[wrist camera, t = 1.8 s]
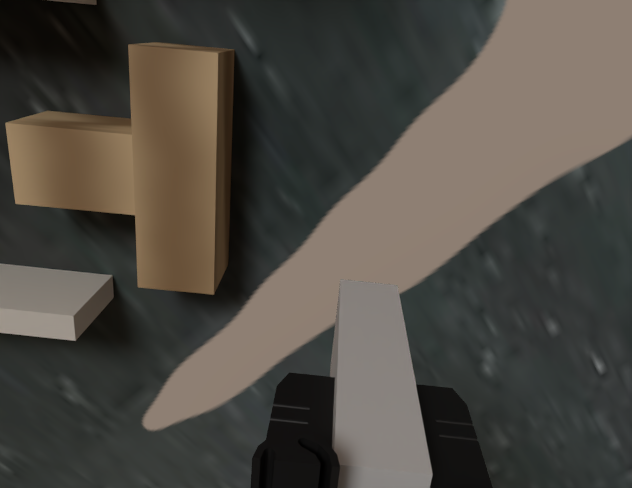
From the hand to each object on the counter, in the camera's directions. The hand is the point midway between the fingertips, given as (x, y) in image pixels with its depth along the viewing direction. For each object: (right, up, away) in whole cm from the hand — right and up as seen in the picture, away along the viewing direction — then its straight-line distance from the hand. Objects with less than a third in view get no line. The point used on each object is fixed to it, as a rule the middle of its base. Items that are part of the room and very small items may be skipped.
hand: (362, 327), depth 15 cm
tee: (-11, +7, +15) cm, 20 cm away
